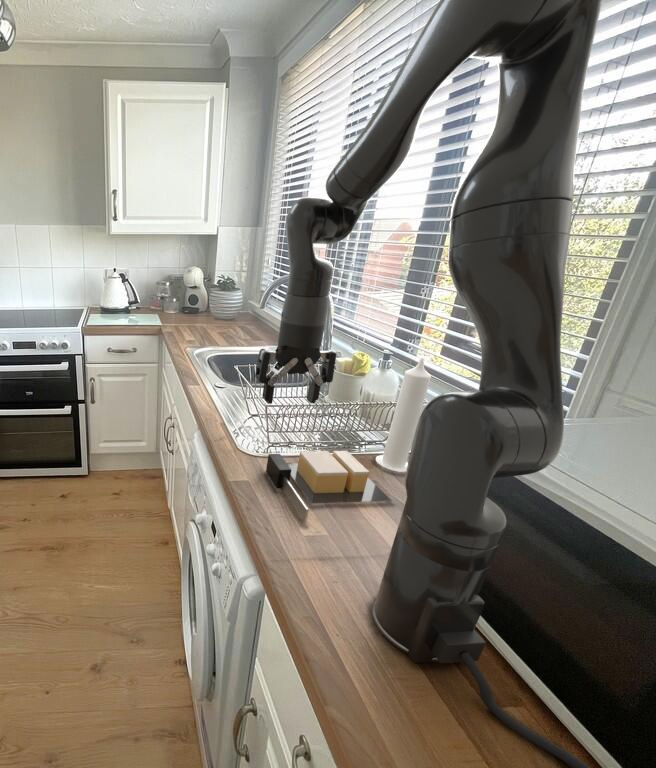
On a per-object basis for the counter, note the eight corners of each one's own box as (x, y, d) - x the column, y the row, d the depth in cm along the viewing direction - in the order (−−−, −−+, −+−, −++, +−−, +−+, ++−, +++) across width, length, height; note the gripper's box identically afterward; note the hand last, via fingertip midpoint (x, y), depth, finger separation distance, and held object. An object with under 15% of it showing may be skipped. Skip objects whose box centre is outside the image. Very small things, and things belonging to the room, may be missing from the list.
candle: (367, 460, 93) (393, 354, 84) (391, 455, 96) (419, 351, 87) (393, 477, 87) (425, 364, 78) (418, 472, 89) (452, 362, 80)
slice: (364, 491, 81) (369, 471, 79) (349, 492, 80) (354, 472, 79) (342, 469, 88) (347, 450, 86) (329, 469, 88) (333, 450, 86)
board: (391, 504, 78) (392, 500, 78) (310, 507, 77) (311, 503, 77) (351, 464, 92) (351, 461, 91) (281, 466, 90) (281, 463, 90)
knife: (265, 474, 87) (268, 453, 85) (276, 474, 87) (279, 453, 85) (297, 526, 72) (302, 502, 70) (310, 525, 72) (315, 502, 71)
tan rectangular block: (343, 492, 80) (348, 472, 79) (314, 493, 80) (318, 473, 78) (323, 469, 88) (327, 450, 86) (296, 470, 87) (300, 451, 86)
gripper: (272, 324, 70) (260, 410, 76) (352, 324, 71) (334, 409, 77) (257, 315, 77) (247, 395, 83) (330, 315, 78) (315, 394, 84)
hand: (289, 402), depth 80 cm, fingers open, 8 cm apart
